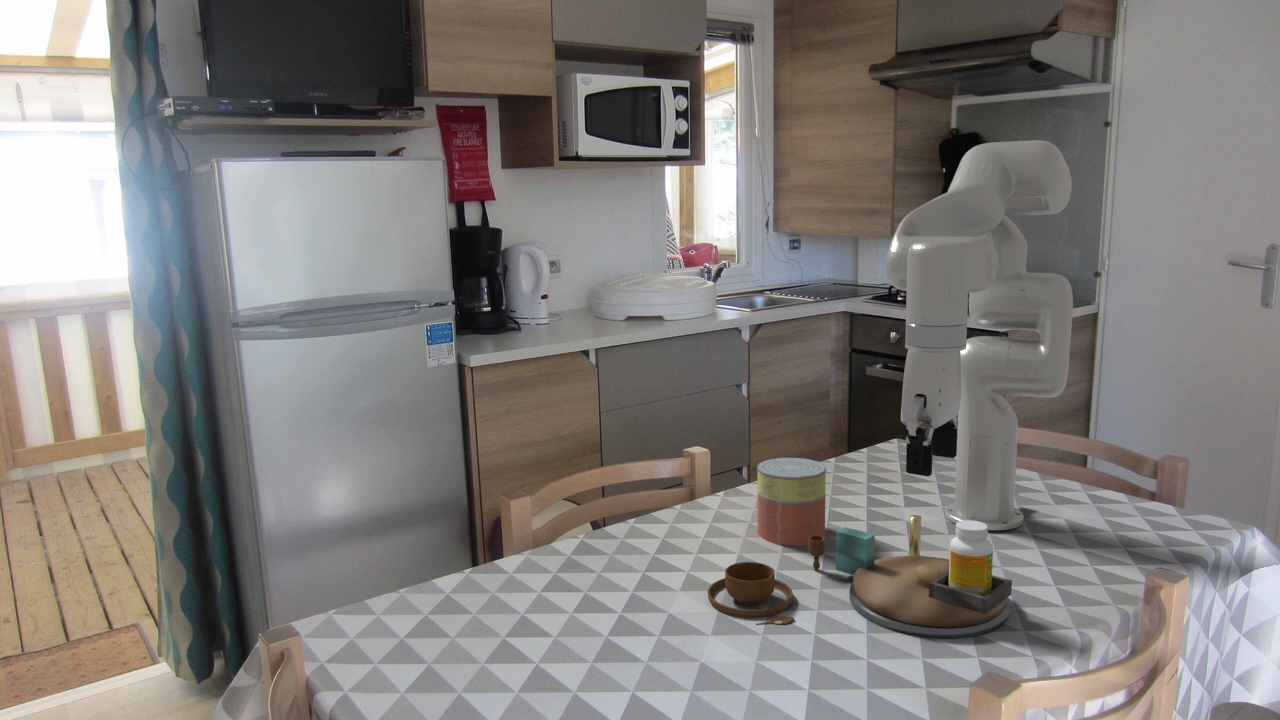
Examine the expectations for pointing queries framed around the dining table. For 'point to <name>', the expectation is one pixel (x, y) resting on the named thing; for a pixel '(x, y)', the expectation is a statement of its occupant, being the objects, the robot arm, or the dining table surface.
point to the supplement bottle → (971, 558)
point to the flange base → (921, 629)
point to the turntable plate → (913, 586)
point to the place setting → (759, 586)
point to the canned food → (791, 500)
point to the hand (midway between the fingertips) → (931, 465)
